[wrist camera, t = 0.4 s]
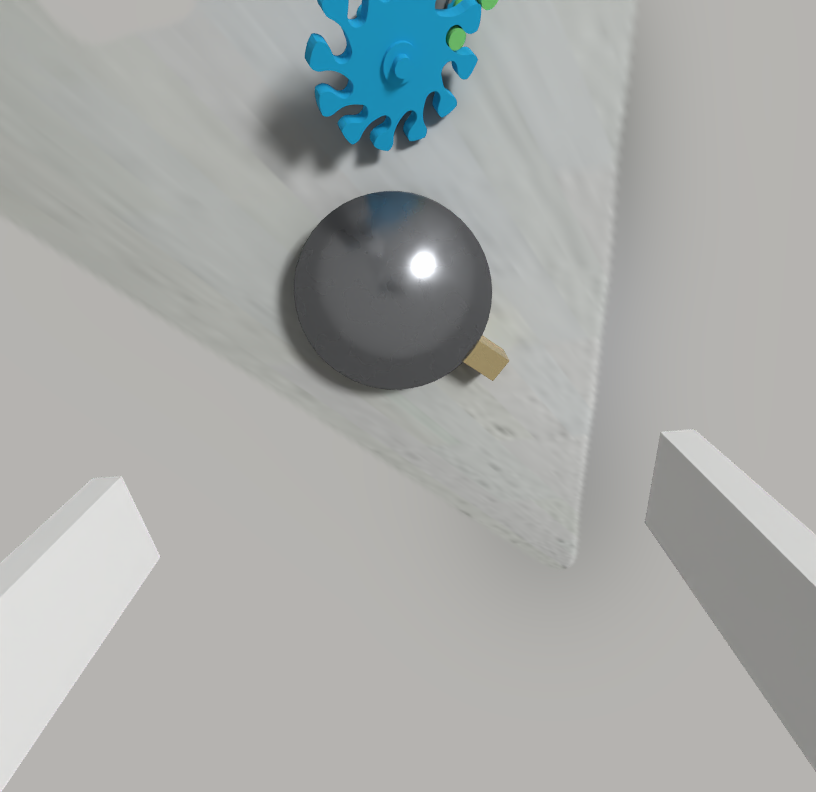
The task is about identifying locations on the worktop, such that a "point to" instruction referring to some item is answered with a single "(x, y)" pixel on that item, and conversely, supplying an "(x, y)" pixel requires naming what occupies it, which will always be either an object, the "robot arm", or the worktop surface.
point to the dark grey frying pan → (396, 292)
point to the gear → (394, 62)
